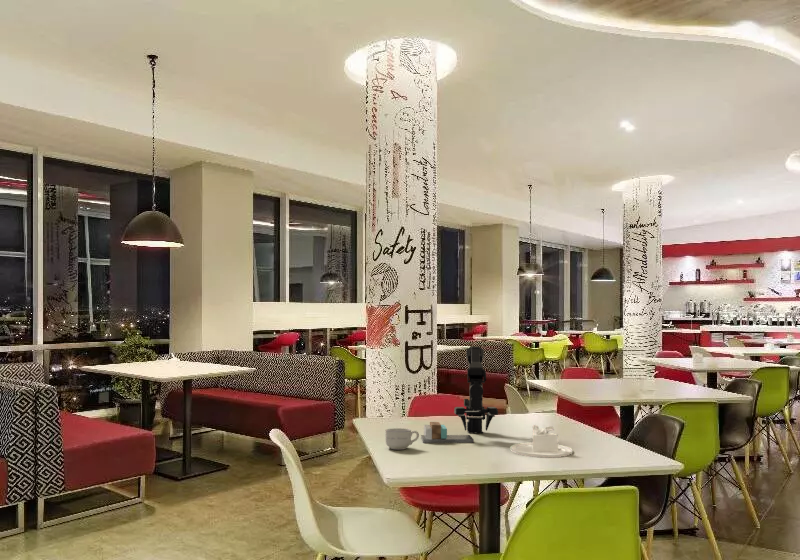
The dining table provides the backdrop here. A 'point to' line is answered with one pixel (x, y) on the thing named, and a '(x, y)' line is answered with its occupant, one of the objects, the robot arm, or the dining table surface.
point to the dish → (542, 445)
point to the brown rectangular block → (436, 430)
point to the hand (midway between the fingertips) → (475, 430)
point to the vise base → (450, 439)
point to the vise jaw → (443, 432)
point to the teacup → (399, 438)
